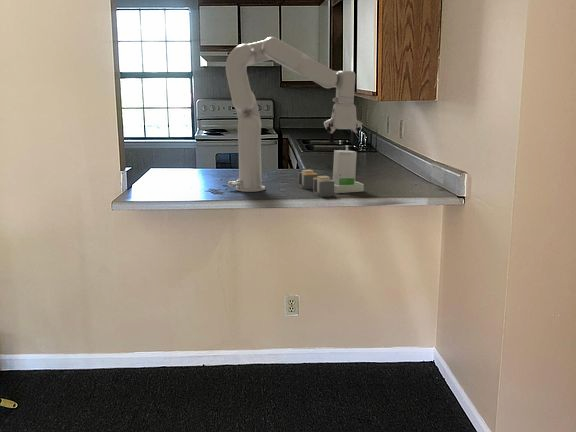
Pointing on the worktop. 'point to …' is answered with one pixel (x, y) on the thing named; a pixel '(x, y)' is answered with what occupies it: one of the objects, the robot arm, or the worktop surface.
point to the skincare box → (344, 167)
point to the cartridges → (319, 178)
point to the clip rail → (311, 183)
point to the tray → (349, 188)
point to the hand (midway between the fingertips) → (342, 142)
